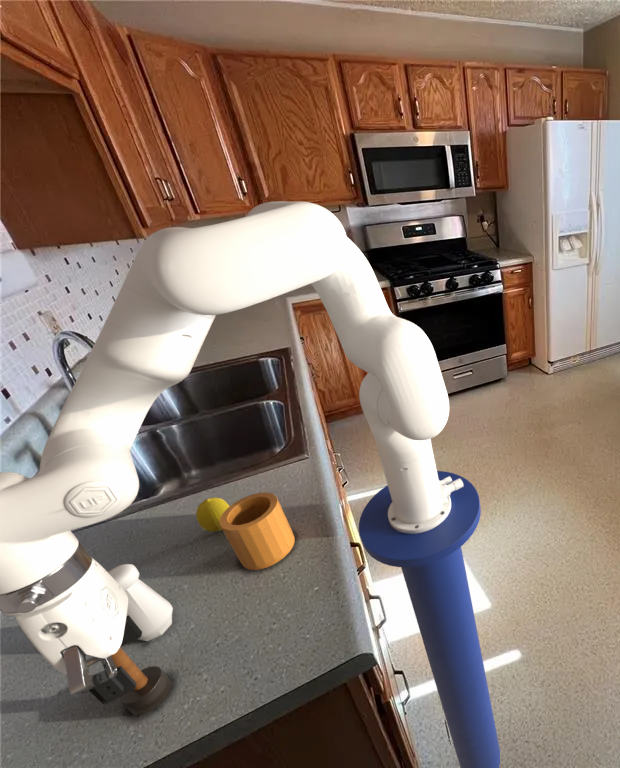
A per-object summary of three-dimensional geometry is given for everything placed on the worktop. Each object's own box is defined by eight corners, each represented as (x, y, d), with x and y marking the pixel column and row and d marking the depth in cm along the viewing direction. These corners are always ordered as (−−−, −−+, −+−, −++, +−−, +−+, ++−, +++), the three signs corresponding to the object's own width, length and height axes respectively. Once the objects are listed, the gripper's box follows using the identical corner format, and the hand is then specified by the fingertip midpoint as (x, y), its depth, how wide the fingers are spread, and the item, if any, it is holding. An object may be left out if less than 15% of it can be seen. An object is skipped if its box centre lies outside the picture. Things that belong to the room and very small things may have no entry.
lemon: (200, 541, 82) (182, 511, 78) (217, 520, 87) (201, 491, 83) (228, 539, 82) (211, 509, 78) (243, 518, 87) (228, 488, 83)
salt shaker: (175, 633, 65) (134, 579, 59) (130, 654, 62) (82, 599, 56) (180, 604, 69) (142, 550, 63) (138, 622, 67) (95, 568, 61)
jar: (290, 523, 84) (273, 485, 80) (299, 552, 77) (281, 512, 73) (239, 546, 80) (218, 507, 75) (243, 579, 73) (220, 539, 68)
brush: (172, 670, 60) (130, 619, 54) (171, 699, 56) (126, 647, 51) (132, 692, 58) (84, 641, 52) (128, 723, 54) (76, 672, 49)
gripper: (71, 615, 41) (156, 708, 49) (100, 514, 54) (163, 601, 62) (-40, 664, 37) (72, 756, 45) (20, 543, 50) (98, 631, 58)
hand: (124, 666), depth 54 cm, fingers open, 7 cm apart
